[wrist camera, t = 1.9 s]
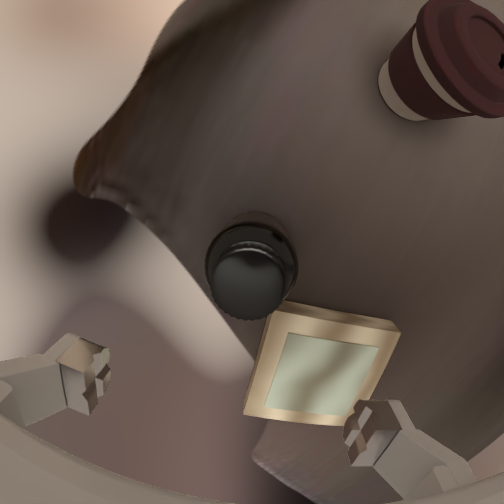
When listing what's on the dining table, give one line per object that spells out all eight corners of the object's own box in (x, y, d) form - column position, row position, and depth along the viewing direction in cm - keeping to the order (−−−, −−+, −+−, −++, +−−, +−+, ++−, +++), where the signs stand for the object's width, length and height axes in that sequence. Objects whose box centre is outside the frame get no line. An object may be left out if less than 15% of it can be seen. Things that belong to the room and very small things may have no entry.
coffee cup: (347, 60, 25) (406, -16, 10) (418, 42, 24) (492, -14, 9) (390, 146, 27) (484, 128, 12) (456, 120, 26) (551, 102, 11)
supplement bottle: (304, 242, 30) (329, 283, 18) (257, 291, 31) (253, 355, 19) (251, 195, 29) (243, 206, 17) (205, 247, 30) (171, 289, 18)
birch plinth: (391, 320, 31) (401, 333, 28) (348, 411, 35) (353, 427, 32) (272, 297, 31) (273, 310, 28) (244, 398, 34) (242, 415, 31)
